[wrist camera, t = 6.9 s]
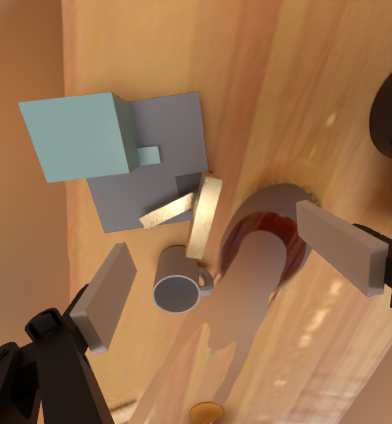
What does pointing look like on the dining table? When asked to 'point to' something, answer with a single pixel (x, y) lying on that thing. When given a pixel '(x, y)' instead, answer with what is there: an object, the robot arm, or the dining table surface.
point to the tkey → (201, 208)
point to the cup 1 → (179, 281)
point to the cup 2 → (206, 412)
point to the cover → (85, 136)
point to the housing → (156, 173)
